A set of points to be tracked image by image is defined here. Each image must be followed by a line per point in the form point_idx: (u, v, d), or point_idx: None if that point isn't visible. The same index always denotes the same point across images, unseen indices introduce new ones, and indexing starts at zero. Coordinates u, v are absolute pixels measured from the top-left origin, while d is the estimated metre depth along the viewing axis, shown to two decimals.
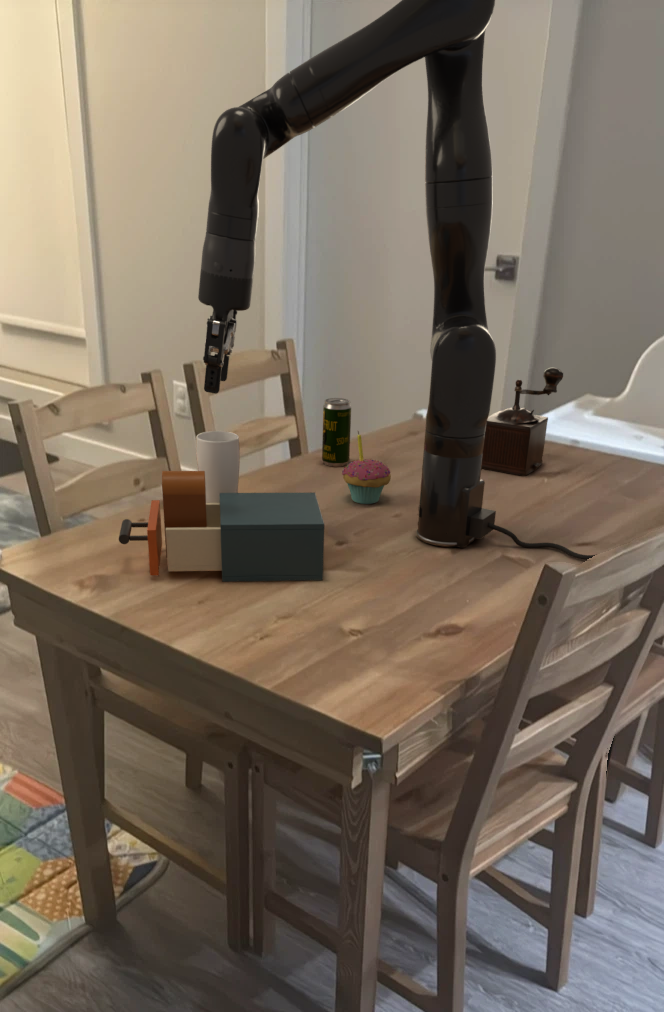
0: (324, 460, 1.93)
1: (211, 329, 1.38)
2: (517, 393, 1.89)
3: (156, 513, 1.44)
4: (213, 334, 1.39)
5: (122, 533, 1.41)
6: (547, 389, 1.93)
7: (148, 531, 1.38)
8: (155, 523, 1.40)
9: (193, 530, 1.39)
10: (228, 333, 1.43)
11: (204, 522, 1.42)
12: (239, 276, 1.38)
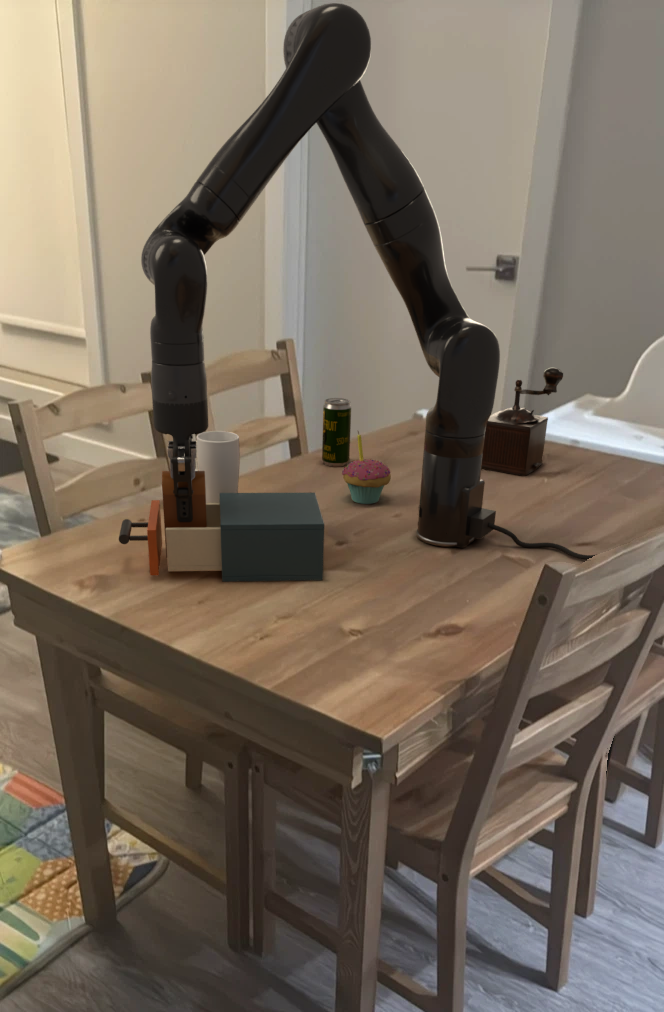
0: (324, 460, 1.93)
1: (177, 467, 1.34)
2: (517, 393, 1.89)
3: (156, 513, 1.44)
4: (180, 471, 1.34)
5: (122, 533, 1.41)
6: (547, 389, 1.93)
7: (148, 531, 1.38)
8: (155, 523, 1.40)
9: (193, 530, 1.39)
10: (192, 459, 1.38)
11: (204, 522, 1.42)
12: (195, 401, 1.33)
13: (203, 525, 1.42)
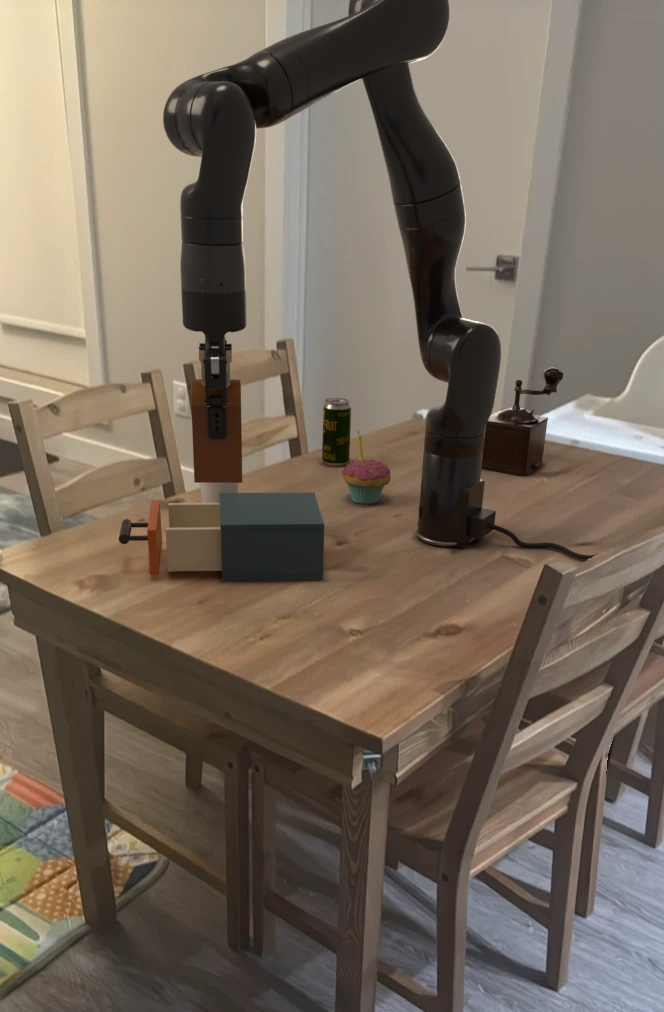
0: (324, 460, 1.93)
1: (210, 369, 1.13)
2: (517, 393, 1.89)
3: (156, 513, 1.44)
4: (213, 374, 1.14)
5: (122, 533, 1.41)
6: (547, 389, 1.93)
7: (148, 531, 1.38)
8: (155, 523, 1.40)
9: (193, 530, 1.39)
10: (227, 363, 1.17)
11: (239, 440, 1.22)
12: (232, 290, 1.12)
13: (238, 444, 1.22)
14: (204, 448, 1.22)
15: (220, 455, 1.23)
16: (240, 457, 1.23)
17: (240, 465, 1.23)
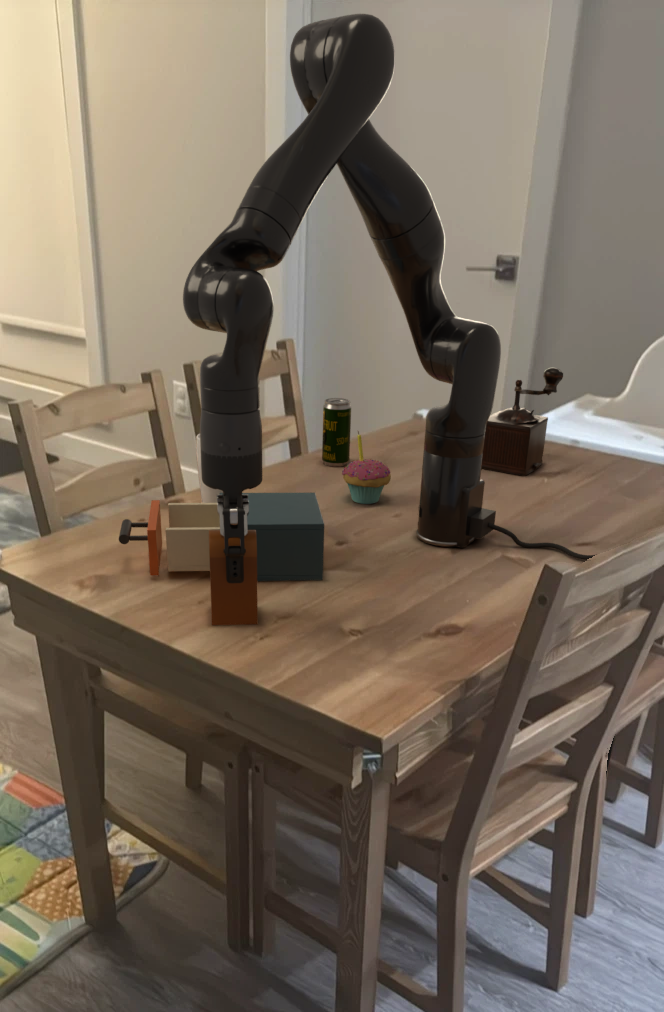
0: (324, 460, 1.93)
1: (229, 519, 1.18)
2: (517, 393, 1.89)
3: (156, 513, 1.44)
4: (232, 524, 1.19)
5: (122, 533, 1.41)
6: (547, 389, 1.93)
7: (148, 531, 1.38)
8: (155, 523, 1.40)
9: (193, 530, 1.39)
10: (244, 514, 1.23)
11: (255, 587, 1.28)
12: (249, 452, 1.18)
13: (253, 590, 1.28)
14: (221, 594, 1.28)
15: (236, 600, 1.28)
16: (255, 602, 1.29)
17: (255, 609, 1.29)
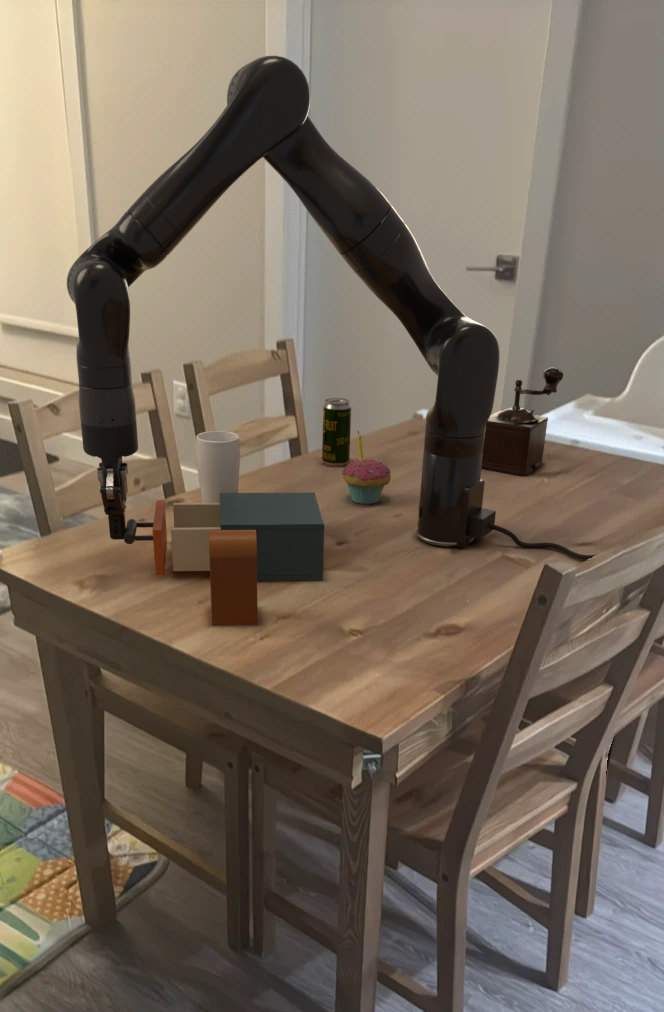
0: (324, 460, 1.93)
1: (106, 497, 1.36)
2: (517, 393, 1.89)
3: (161, 513, 1.44)
4: (109, 499, 1.36)
5: (127, 533, 1.41)
6: (547, 389, 1.93)
7: (153, 531, 1.38)
8: (160, 523, 1.40)
9: (198, 530, 1.39)
10: (122, 482, 1.39)
11: (255, 587, 1.28)
12: (122, 423, 1.33)
13: (254, 590, 1.28)
14: (221, 594, 1.28)
15: (236, 600, 1.28)
16: (256, 602, 1.29)
17: (255, 609, 1.29)
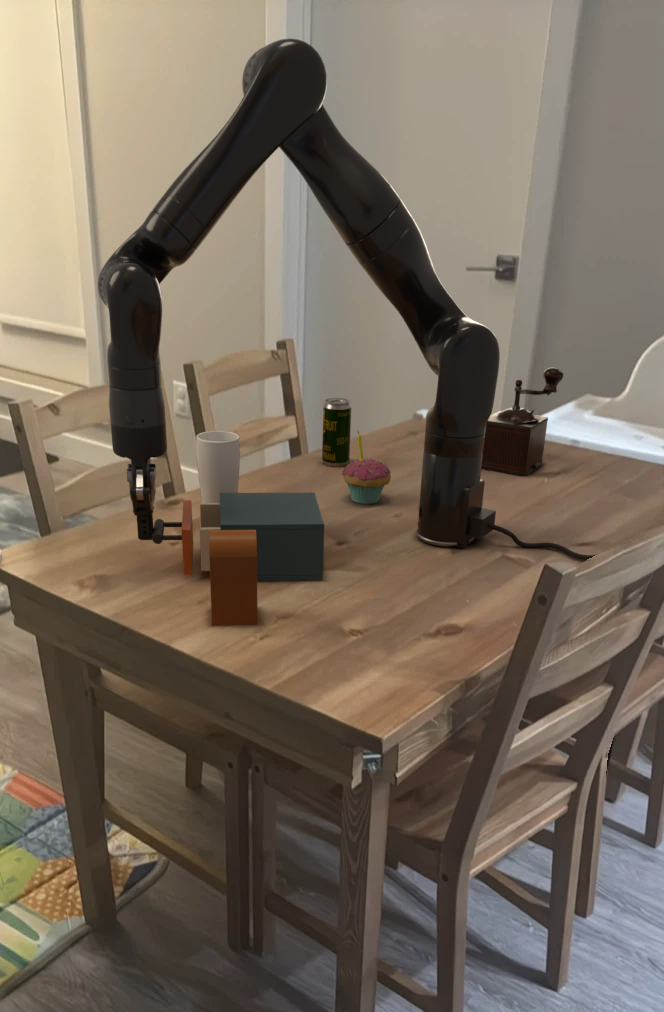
0: (324, 460, 1.93)
1: (136, 498, 1.36)
2: (517, 393, 1.89)
3: (189, 513, 1.44)
4: (139, 500, 1.37)
5: (156, 533, 1.42)
6: (547, 389, 1.93)
7: (182, 531, 1.38)
8: (189, 523, 1.41)
9: None
10: (151, 483, 1.39)
11: (255, 587, 1.28)
12: (152, 425, 1.34)
13: (254, 590, 1.28)
14: (221, 594, 1.28)
15: (236, 600, 1.28)
16: (256, 602, 1.29)
17: (255, 609, 1.29)
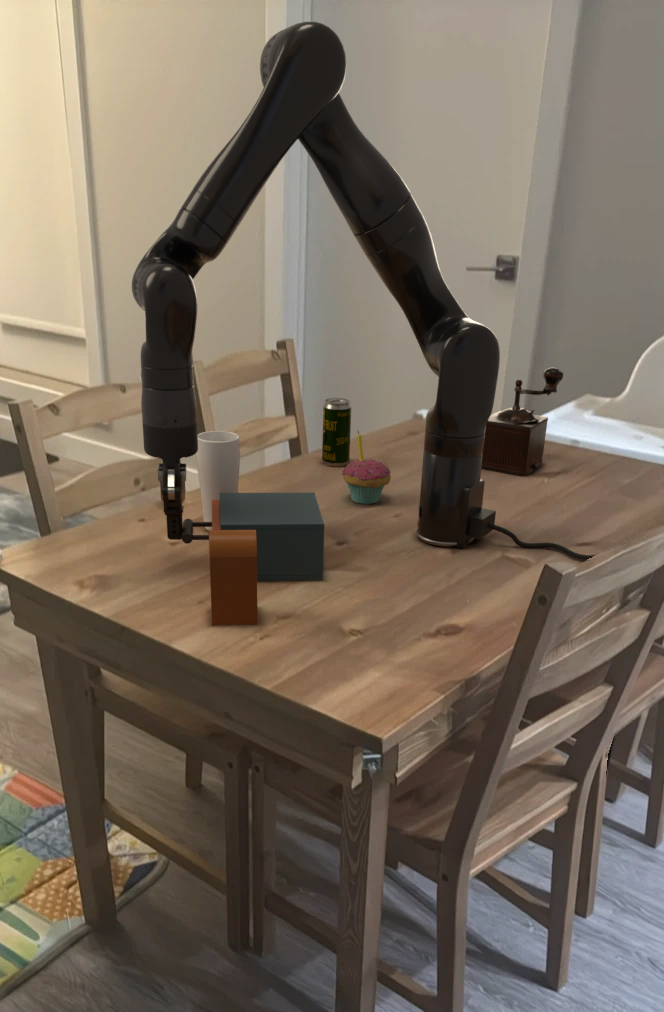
0: (324, 460, 1.93)
1: (167, 497, 1.37)
2: (517, 393, 1.89)
3: (218, 513, 1.45)
4: (170, 499, 1.37)
5: (185, 532, 1.42)
6: (547, 389, 1.93)
7: None
8: (219, 522, 1.41)
9: None
10: (182, 483, 1.40)
11: (255, 587, 1.28)
12: (184, 425, 1.34)
13: (254, 590, 1.28)
14: (221, 594, 1.28)
15: (236, 600, 1.28)
16: (256, 602, 1.29)
17: (255, 609, 1.29)
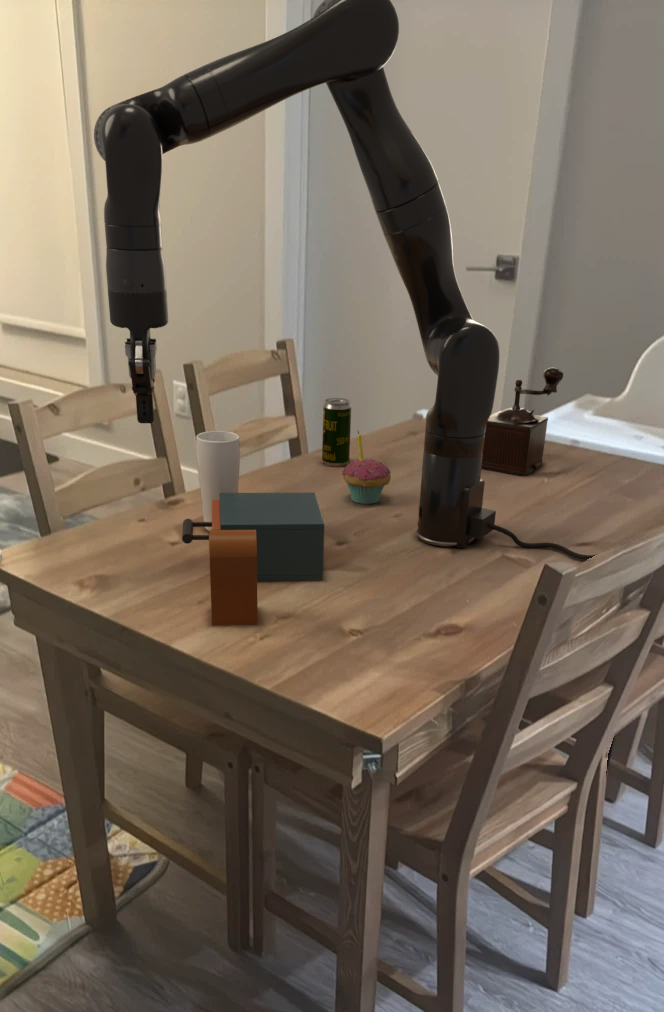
0: (324, 460, 1.93)
1: (135, 371, 1.28)
2: (517, 393, 1.89)
3: (218, 513, 1.45)
4: (138, 373, 1.28)
5: (185, 532, 1.42)
6: (547, 389, 1.93)
7: None
8: (219, 522, 1.41)
9: None
10: (151, 358, 1.31)
11: (255, 587, 1.28)
12: (152, 290, 1.25)
13: (254, 590, 1.28)
14: (221, 594, 1.28)
15: (236, 600, 1.28)
16: (256, 602, 1.29)
17: (255, 609, 1.29)
